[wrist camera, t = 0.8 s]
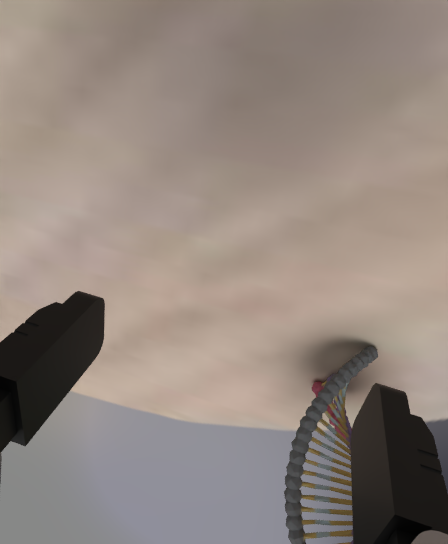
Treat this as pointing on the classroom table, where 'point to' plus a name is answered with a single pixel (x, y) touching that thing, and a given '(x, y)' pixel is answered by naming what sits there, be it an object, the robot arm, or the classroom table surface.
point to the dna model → (308, 424)
